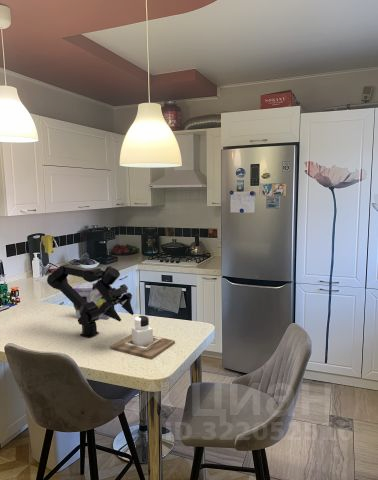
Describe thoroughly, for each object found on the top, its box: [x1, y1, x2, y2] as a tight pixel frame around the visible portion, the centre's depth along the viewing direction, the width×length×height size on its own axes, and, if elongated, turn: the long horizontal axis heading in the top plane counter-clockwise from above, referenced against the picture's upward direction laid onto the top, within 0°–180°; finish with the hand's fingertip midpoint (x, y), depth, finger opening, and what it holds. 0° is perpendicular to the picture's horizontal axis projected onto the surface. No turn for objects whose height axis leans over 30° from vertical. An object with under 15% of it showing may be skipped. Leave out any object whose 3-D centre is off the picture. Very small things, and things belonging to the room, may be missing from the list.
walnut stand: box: [109, 333, 176, 360], centre depth 168 cm, size 22×18×2 cm
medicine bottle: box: [131, 315, 154, 347], centre depth 167 cm, size 7×7×12 cm
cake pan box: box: [72, 284, 110, 320], centre depth 205 cm, size 19×5×18 cm, turn 81°
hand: (126, 317), depth 170 cm, fingers open, 9 cm apart
